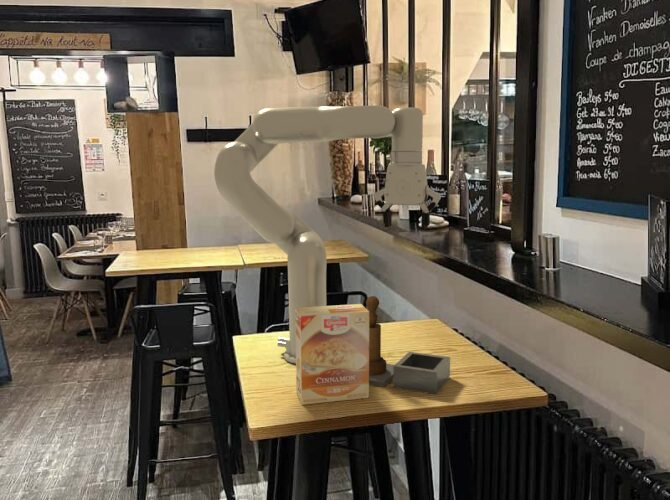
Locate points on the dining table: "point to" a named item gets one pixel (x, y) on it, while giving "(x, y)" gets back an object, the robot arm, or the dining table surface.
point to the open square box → (421, 372)
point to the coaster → (382, 377)
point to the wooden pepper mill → (375, 339)
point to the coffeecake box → (332, 353)
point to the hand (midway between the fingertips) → (406, 227)
